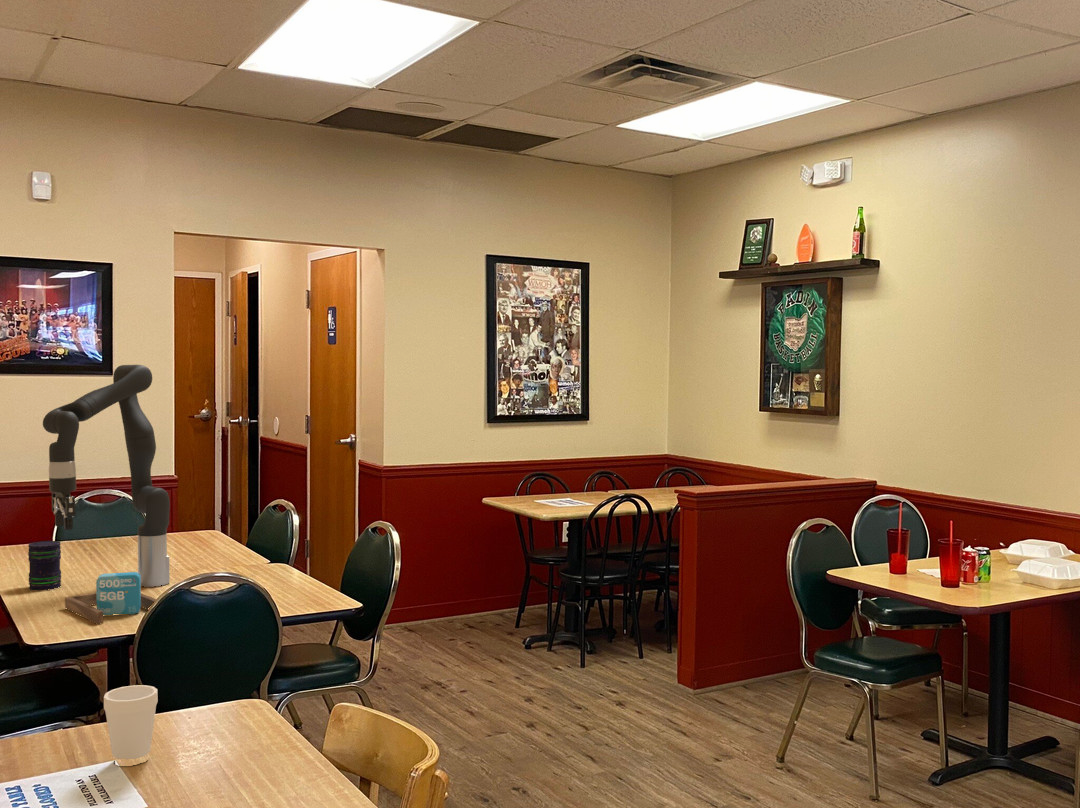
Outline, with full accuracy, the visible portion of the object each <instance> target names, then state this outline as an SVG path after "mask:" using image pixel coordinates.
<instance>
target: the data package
mask: <svg viewBox="0 0 1080 808" xmlns="http://www.w3.org/2000/svg"><path fill="white" fill-rule="evenodd" d="M95 582H96V586H95V587H96V589H95V590H96V592H95V593H96V601H97V605H96V609H98V610H101V611H103V615H113V614H130V615H136V614H135V613H137V614H138V613H140V610H141V608H142V607H141V592H142V589H141V576H140V574H139V573H138V571H131V572H130V571H129V572H112V573H109V572H108V573H102V574H100V575H99V576H98V577H97V579H96V581H95Z"/></svg>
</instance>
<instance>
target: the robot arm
mask: <svg viewBox="0 0 1080 808" xmlns="http://www.w3.org/2000/svg"><path fill="white" fill-rule="evenodd" d="M112 377H113V378H112V380H113V383H111V384H108V385H106V386H103V387H99V388H96V389H94V390H91V391H89V392H87V393H86V394H84V395H82V396H80V397H79V398H77V399H75V400H74V401H72V402H70V403H67V404H64V405H61V406H59V407H55V408H54V409H52V410H50V411H48V412H47V413H46V414H45V416H44V417H43V419H42V426H43V428H44V430H45V431H46V432H48V433H50V434H53V435H54V434H57V440H56V441H55V442H51V443H50V445H49V446H48V447H49V448H48V450H49V451H48V459H49V463H48V486H49V489H48V490H49V492H51V512H53V515H54V523H55V526H56V528H57V527H64V530H66V531H72V530H73V528H74V522H73V520H74V519H73V518H74V516H76V515H77V513H76V498H75V497H76V496H73V495H72V496H71V492H74V491H76V490H77V470H76V469H77V468H76V461H75V458H76V457H75V456H76V455H75V446H76V442H77V439H78V438H77V437H78V435H79V430H80V422H85V421H88V420H89V419H91V418H93V417H94V416H96V415H98V414H100V413H101V412H103V411H104V410H106V409H107V408H109V407H111V406H113V405H115V404H117V403H118V405H119V409H120V414H121V420H122V426H123V431H124V440H125V447H126V451H127V458H128V465H129V470H130V480H131V481H130V483H131V484H130V485H131V499H132V505H133V507H134V510H136V511H137V512H138V513H140V514H144V515H145V519H144V520H145V521H144V522H143V524H141V525H139V526H138V527H137V573H139V574H140V576H141V586H144V587H143V588H153V587H154V586H156V587H161V585H162V586H165V585H169V584H170V582H171V581H170V580H171V579H170V556H169V555H168V544H167V543H168V542H167V541H168V538H167V536H168V535H167V533H168V532H167V531H168V527H169V525H170V514H171V513H170V511H171V502H170V501H171V500H170V496H169V493H168V491H166V490H165V489H164V488H162V487H154V485H153V479H152V473H151V472H152V471H151V470H152V466H153V461H154V459H155V456H156V455H155V454H156V451H157V445H156V444H157V443H156V437H155V432H154V431H155V430H154V427H153V425H152V423H151V422H150V420H149V419H148V416H146V414H145V413H144V412H143V409H142V408H141V405H140V404H139V403H140V402H139V398H138V395H137V394H140V393H143V392H145V391H147V390H148V389H149V388H150V387H151V385H152V383H153V374H152V371H151V369H149V368H148V367H147V366H146V365H142V364H121V365H119V366H116V368H115V369H114V371H113V376H112ZM168 583H169V584H168ZM154 588H155V587H154Z"/></svg>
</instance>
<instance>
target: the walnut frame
mask: <svg viewBox="0 0 1080 808" xmlns="http://www.w3.org/2000/svg"><path fill="white" fill-rule="evenodd" d="M156 599H157V598H155V597H151V596H149V595H146V594H144V593H141V607H140V608H142V607H144V608H146V609H148V608H149V607H150V606H151V605H152V604H153V603H154V602H155V601H156ZM92 604H97V601H96V592H91V593H86V594H79V595H73V596H66V597H64V609H65V608H67V609H69V610H71V611H73V612H75V613H77V614H79V615H81V616H83V617H85V618H87V619H89V620H91V621H93V622H95V623H97V624H98V625H101V624H100V623H103V624H104V616H103V611H101V610H98V609H97V607H93V606H90V605H92ZM144 608H143V609H144ZM67 609H66V610H67ZM146 609H145V610H146ZM69 610H68V611H69ZM71 611H70V612H71ZM73 612H72V613H73ZM75 613H74V614H75ZM77 614H76V615H77ZM79 615H78V616H79ZM81 616H80V617H81ZM83 617H82V618H83ZM85 618H84V619H85ZM87 619H86V620H87ZM89 620H88V621H89ZM91 621H90V622H91ZM93 622H92V623H93ZM95 623H94V624H95ZM97 624H96V625H97Z"/></svg>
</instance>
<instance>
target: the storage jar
mask: <svg viewBox="0 0 1080 808" xmlns="http://www.w3.org/2000/svg"><path fill="white" fill-rule="evenodd" d="M27 548H28V552H27V557H28V558H27V559H28V562H29V571H28V585H29V587H28V589H30V590H29V591H32V590H47V591H49V590H48V589H54V588H58V587H60V586H61V587H62V583H61V582H62V570H61V557H62V556H61V555H62V550H61V548H62V547H61V541H57V540H43V541H34V542H30V543H28V547H27ZM61 587H60V588H61ZM58 589H59V588H58ZM54 590H55V589H54Z"/></svg>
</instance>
